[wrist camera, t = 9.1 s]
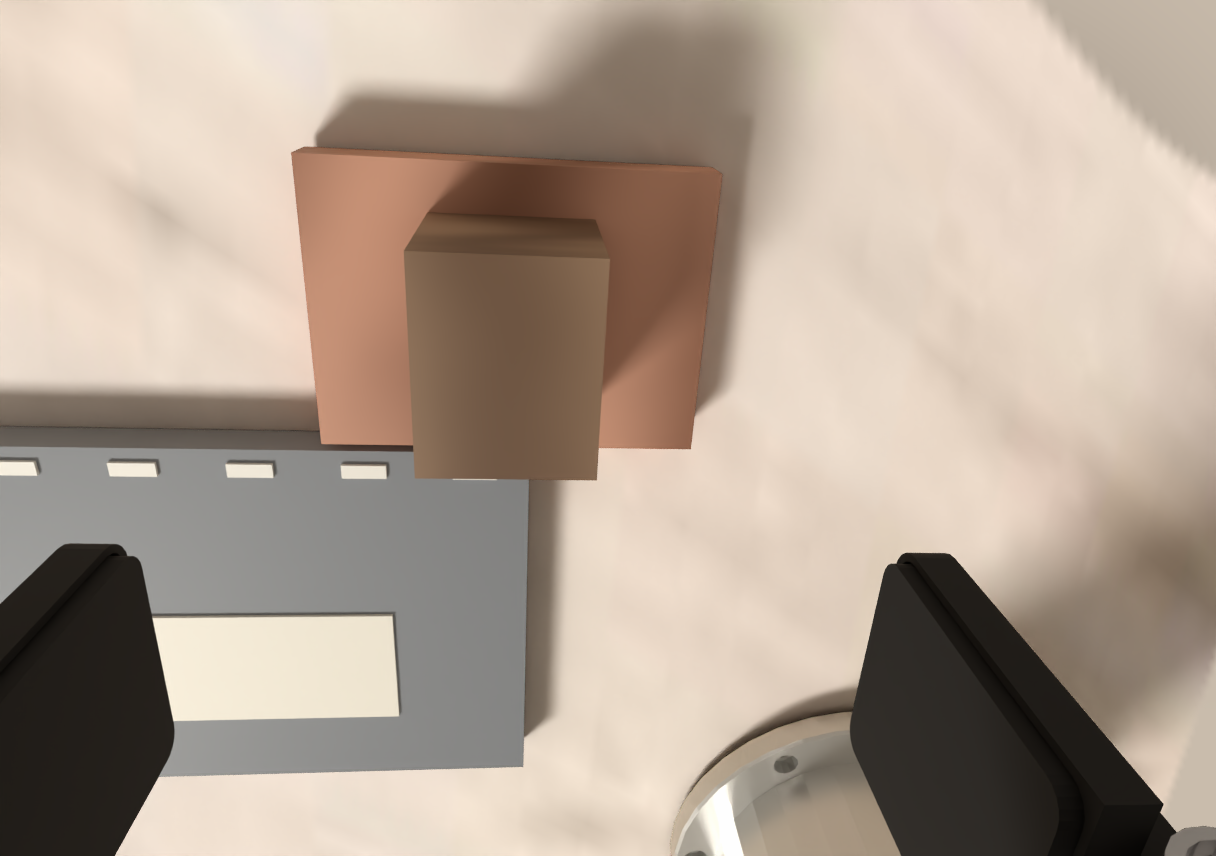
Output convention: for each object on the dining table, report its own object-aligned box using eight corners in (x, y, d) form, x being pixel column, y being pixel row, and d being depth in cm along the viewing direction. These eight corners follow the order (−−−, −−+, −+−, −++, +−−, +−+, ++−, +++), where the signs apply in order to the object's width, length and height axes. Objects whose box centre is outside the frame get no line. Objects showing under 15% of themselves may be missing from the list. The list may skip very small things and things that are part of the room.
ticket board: (529, 434, 23) (529, 455, 22) (523, 739, 28) (523, 769, 27) (-147, 424, 21) (-186, 445, 20) (-24, 752, 27) (-49, 784, 25)
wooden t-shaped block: (712, 167, 20) (766, 203, 16) (683, 430, 24) (721, 526, 19) (304, 146, 19) (232, 179, 15) (330, 424, 22) (278, 524, 18)
